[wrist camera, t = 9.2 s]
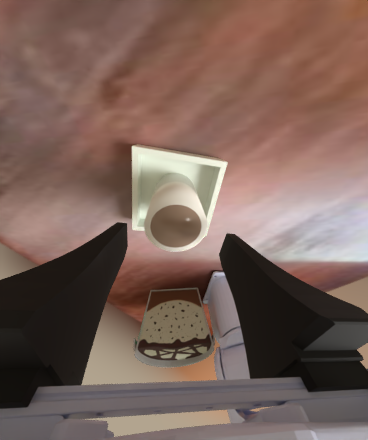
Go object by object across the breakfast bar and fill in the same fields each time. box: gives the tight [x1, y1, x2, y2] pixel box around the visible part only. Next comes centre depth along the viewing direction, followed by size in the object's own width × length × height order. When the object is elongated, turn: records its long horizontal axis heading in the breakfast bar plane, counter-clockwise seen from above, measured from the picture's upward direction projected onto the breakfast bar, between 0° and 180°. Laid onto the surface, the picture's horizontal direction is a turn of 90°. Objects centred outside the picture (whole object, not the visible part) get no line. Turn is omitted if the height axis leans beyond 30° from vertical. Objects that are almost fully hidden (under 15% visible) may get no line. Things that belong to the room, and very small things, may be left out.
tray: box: [132, 144, 228, 237], centre depth 19 cm, size 10×10×3 cm
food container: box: [134, 288, 215, 367], centre depth 27 cm, size 12×6×10 cm, turn 90°
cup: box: [144, 173, 207, 252], centre depth 16 cm, size 5×5×8 cm
